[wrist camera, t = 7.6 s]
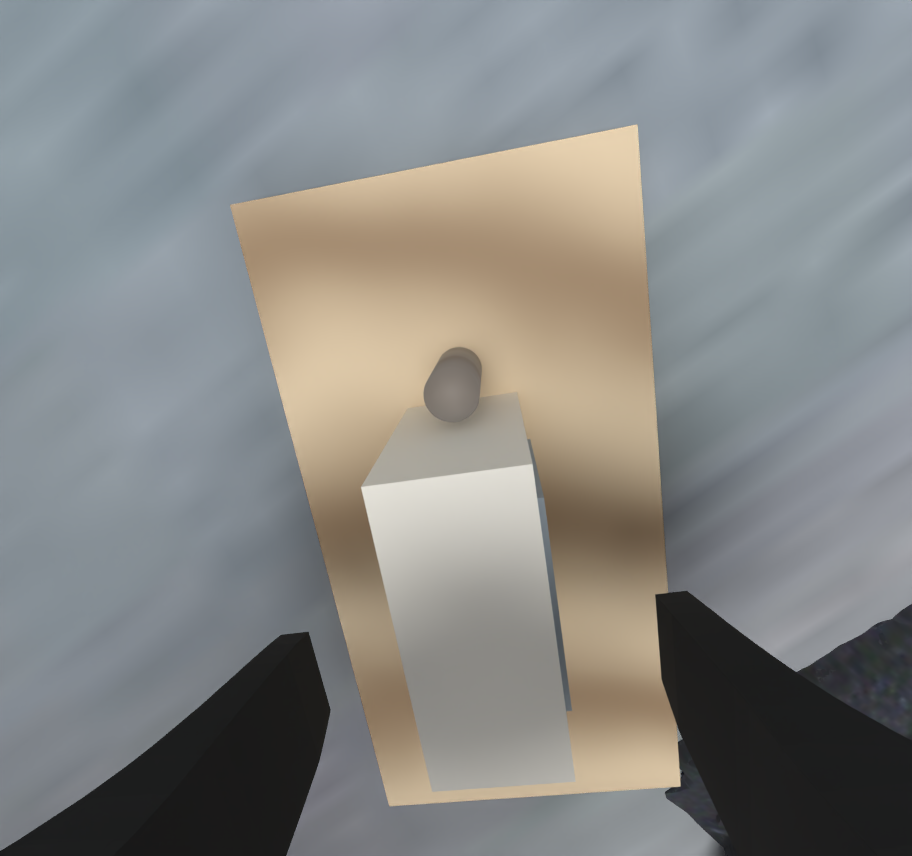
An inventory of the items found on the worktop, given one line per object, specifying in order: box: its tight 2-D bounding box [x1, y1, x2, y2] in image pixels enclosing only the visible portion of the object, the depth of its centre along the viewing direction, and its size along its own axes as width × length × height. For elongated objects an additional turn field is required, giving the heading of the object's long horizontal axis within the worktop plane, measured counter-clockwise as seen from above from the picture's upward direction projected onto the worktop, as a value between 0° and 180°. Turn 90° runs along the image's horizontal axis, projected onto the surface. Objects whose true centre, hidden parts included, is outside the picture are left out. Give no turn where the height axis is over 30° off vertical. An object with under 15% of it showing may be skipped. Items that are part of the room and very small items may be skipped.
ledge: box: [230, 125, 681, 806], centre depth 15 cm, size 20×10×4 cm, turn 9°
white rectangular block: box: [361, 392, 576, 792], centre depth 13 cm, size 7×3×6 cm, turn 10°
